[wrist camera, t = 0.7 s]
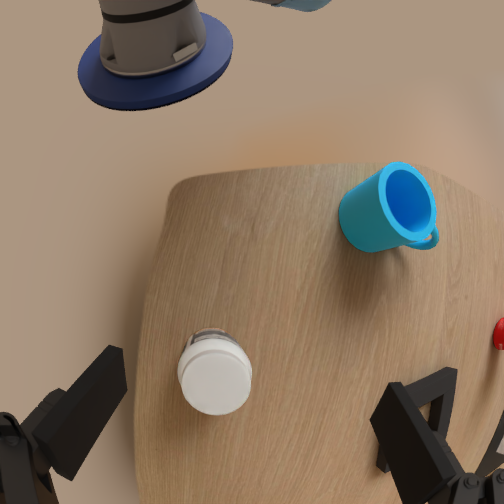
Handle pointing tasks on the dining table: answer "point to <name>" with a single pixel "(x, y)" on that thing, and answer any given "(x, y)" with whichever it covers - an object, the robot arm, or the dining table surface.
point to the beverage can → (499, 335)
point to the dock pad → (442, 396)
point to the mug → (390, 211)
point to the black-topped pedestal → (493, 452)
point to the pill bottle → (214, 372)
